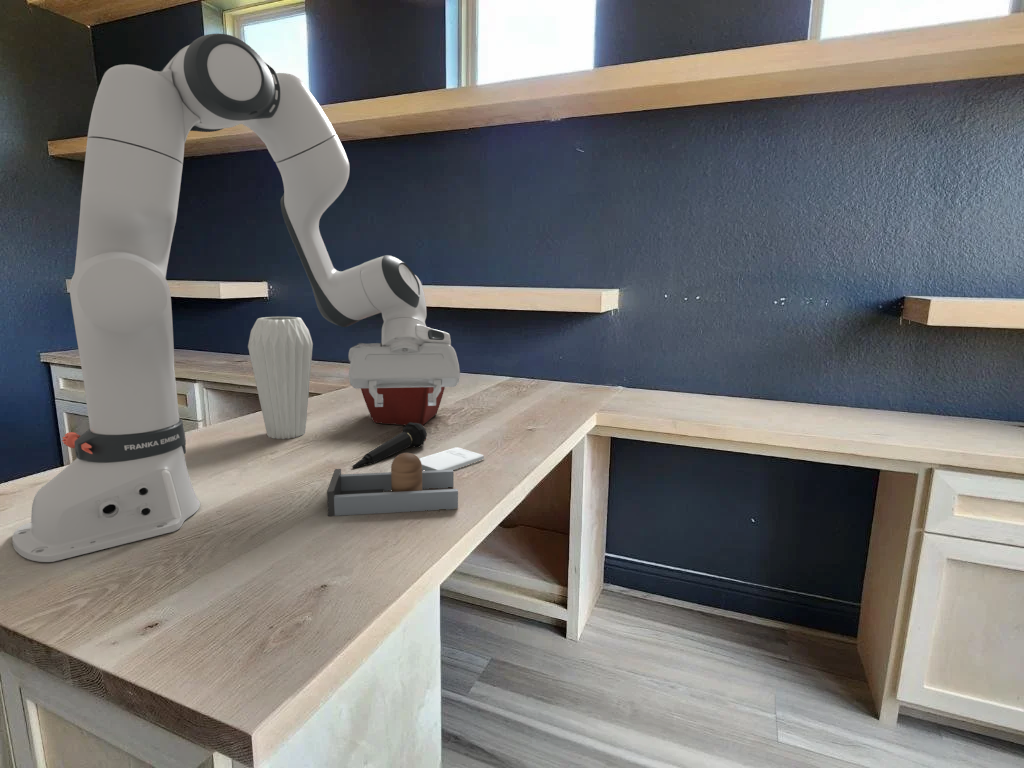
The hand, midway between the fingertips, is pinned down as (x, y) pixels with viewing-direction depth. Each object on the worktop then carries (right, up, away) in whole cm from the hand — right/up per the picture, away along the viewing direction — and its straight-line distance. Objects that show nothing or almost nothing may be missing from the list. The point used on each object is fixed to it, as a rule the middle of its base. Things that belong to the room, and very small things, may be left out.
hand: (405, 404), depth 102 cm
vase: (-32, -8, +27) cm, 43 cm away
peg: (+2, -15, -8) cm, 17 cm away
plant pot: (-8, -5, +42) cm, 43 cm away
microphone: (-6, -11, +15) cm, 20 cm away
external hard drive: (+6, -13, +10) cm, 17 cm away
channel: (0, -15, -8) cm, 17 cm away
